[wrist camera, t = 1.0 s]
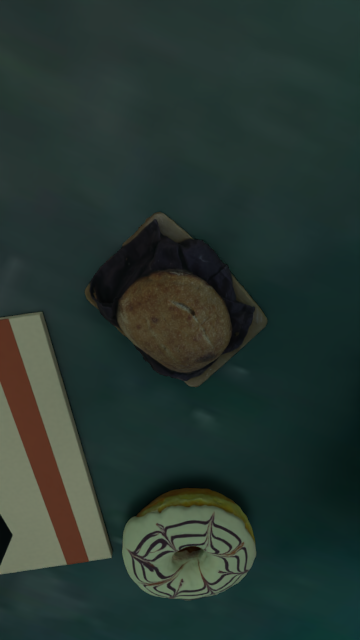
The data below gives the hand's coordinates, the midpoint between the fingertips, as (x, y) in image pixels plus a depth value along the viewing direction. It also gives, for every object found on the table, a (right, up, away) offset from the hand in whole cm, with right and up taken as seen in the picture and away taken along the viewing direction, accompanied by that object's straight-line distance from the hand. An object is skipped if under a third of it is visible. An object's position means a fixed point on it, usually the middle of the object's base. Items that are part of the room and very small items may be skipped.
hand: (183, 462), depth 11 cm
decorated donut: (0, -13, +18) cm, 23 cm away
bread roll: (0, +6, +12) cm, 13 cm away
